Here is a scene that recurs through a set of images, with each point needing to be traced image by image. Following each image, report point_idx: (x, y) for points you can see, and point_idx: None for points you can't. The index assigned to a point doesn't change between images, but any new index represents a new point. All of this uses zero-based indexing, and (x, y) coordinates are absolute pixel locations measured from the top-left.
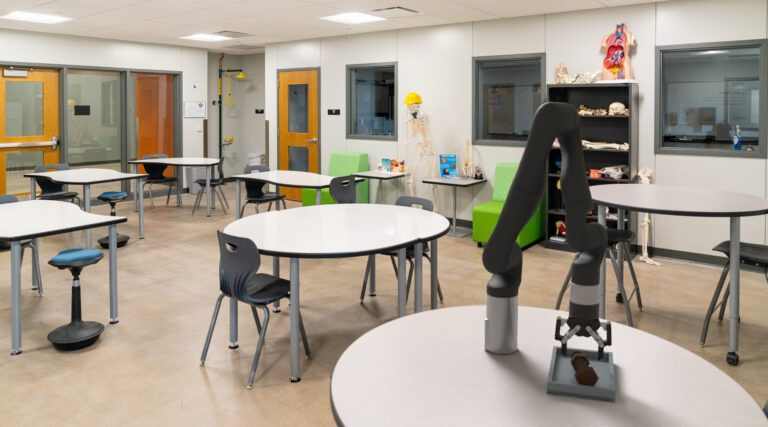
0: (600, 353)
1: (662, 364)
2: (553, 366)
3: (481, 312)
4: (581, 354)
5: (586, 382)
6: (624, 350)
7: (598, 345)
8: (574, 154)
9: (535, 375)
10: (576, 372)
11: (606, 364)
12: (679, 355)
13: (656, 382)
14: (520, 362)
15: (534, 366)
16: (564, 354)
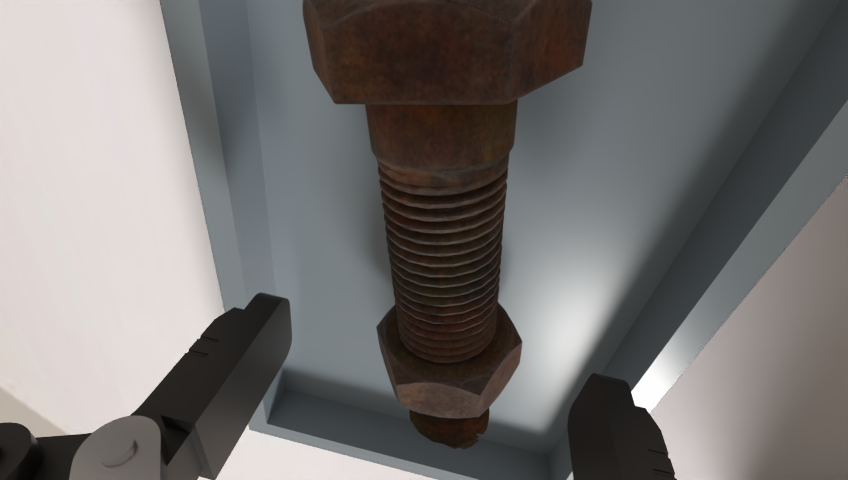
0: (217, 349)
1: (81, 353)
2: (708, 293)
3: None
4: (426, 401)
5: None
6: (239, 449)
7: (206, 461)
8: None
9: (820, 256)
10: (560, 69)
11: (293, 352)
12: (55, 404)
13: (38, 192)
14: (818, 414)
15: (742, 369)
16: (624, 394)
